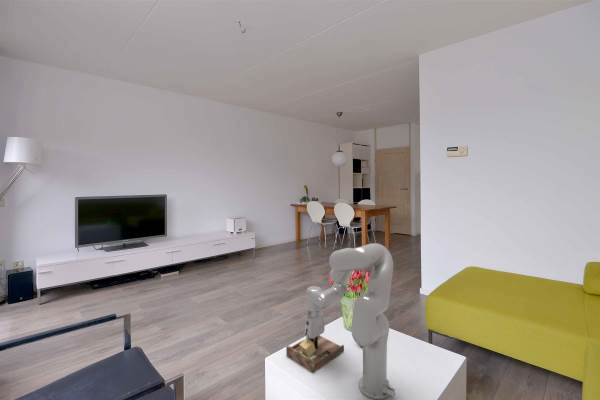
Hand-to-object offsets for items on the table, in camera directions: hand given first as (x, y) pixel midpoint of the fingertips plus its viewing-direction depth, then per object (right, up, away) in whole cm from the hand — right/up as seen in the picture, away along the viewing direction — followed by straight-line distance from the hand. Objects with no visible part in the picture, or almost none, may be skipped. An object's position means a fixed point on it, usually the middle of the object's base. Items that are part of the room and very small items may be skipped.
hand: (314, 347), depth 139 cm
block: (-3, -1, -2) cm, 4 cm away
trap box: (+1, -3, +1) cm, 3 cm away
